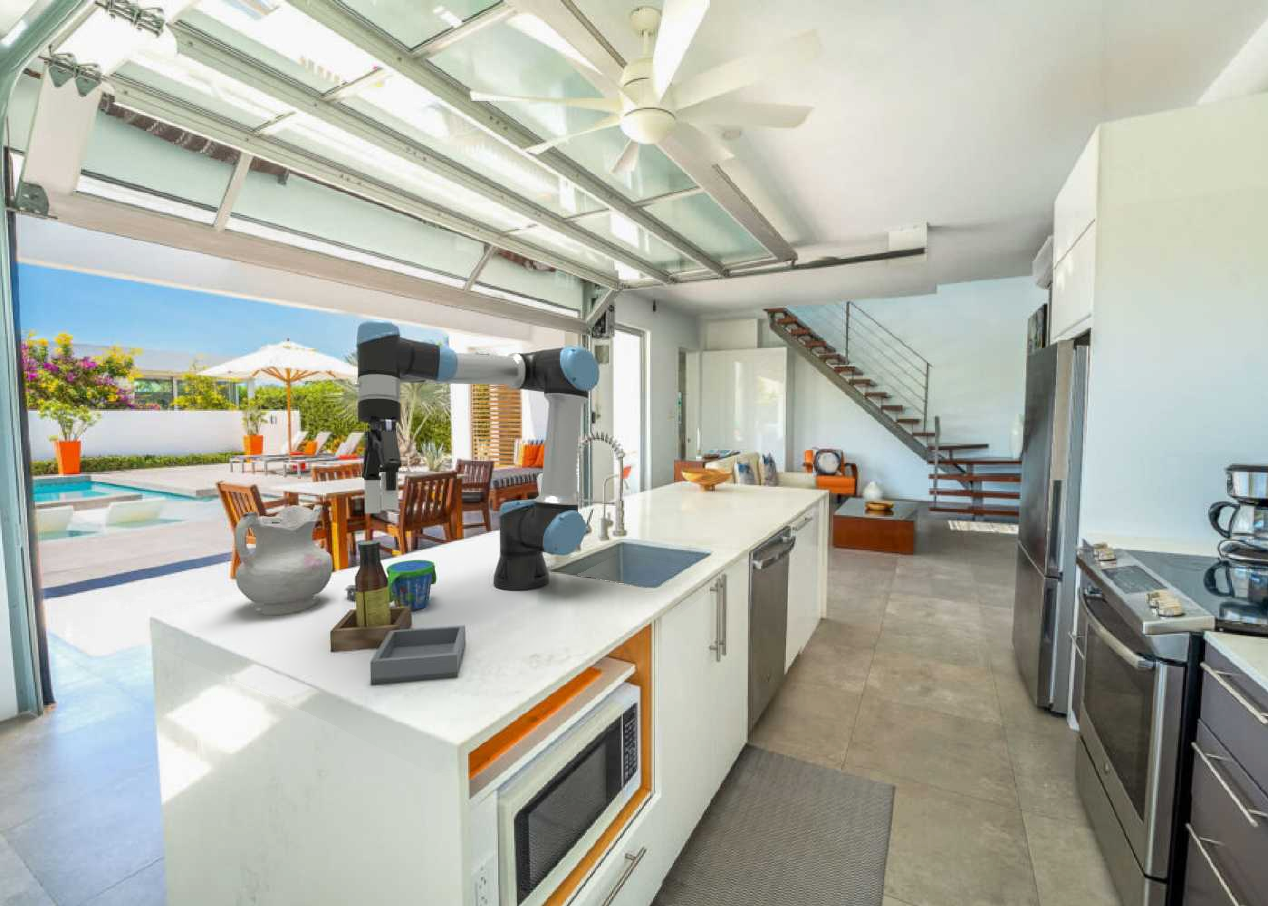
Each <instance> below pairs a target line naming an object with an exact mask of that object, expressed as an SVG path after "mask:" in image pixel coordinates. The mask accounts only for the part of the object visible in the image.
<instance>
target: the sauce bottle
mask: <svg viewBox="0 0 1268 906" xmlns="http://www.w3.org/2000/svg"><path fill="white" fill-rule="evenodd" d="M357 546H358V547H357V550H358V551H359V569H358V570H357V572H356V573H355V576H354V585H355V586H356V589H355V596H356V602H355V609H356V613H357V627H370V626H385V625H391V616H390V607H391V606H390V605H391V603H390V600H389V585H388V579H387V577H388V575H386V572H385V569H384V566H383V563H382V562H381V553H380V552H381V551H380V550H381V542H380V540H377V539H376V540H375V539H373V540H372V539H371V540H364V541H360V542H359V543H357Z"/></svg>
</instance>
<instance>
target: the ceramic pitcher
mask: <svg viewBox="0 0 1268 906" xmlns="http://www.w3.org/2000/svg"><path fill="white" fill-rule="evenodd" d="M323 507H324V505H322V504H316V503H314V507H313V509H311V508H308V507H307V506H300V505H297V504H296V505H295V504H293V505H290V506H286V507H283V508H282V509H281V510H279V512H278V513H277V514H276V515H275V516H264V515H261V516H259V514H258V511H257V510H251V511H250V510H249V511H246V512H244V514H241V516H242V517H241V518H240V519H239V521H238V523H237V524H236V527H235V529H234V532H233V533H234V538H233V539H234V545H235V548H236V552H237V554H238V557H239V559H240V561H241V563H239V565H238V566H237V568H236V570H235V583H236V585H237V588H238V590H239V591H240V592H241V593H242V594H243V595H244V596H245V597H246V598H247V599H249V600H250V601H251V602H253V603H255V604H261V606H259V607H260V608H259V610H258V611H257V612H258V614H259V615H265V616H267V615H268V616H274V617H275V616H280V615H286V614H294V613H295V614H296V613H300V612H301V611H304V610H306V609H308V608H311V607H312V606H314V605H317V604H319V602H320V601H319V600H320V599H319V598H315V595H318V594H319V593H321V592H322V591H324V589H325V588H326V587H327V585H328V584H329V581H330V580H331V578H332V574H333V567H334V566H333V565H334V564H333V557H332V555H331V554H330V553H329V552H328V551H325V550H324V549H322V548H321V547H320V546H318V545H316V544H315V543H314V540H313V533H314V529H315V527H316V524H317V521H318V518H319V516H320V514H321V513H322V512H323ZM249 528H250V529H251V532H253V535H254V537H255V541H256V544H255V549H254V550H253V552H252V553H251V551H250V549H249V548H248V546H247V545H248V544H247V532H248V530H249Z"/></svg>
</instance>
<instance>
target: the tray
mask: <svg viewBox="0 0 1268 906" xmlns="http://www.w3.org/2000/svg"><path fill="white" fill-rule="evenodd" d="M466 638H467V637H466V624H464V625H463V624H462V625H454V626H453V625H450V626H449V625H448V626H437V627H435V626H433V627H421V628H409V629H405V630H391V631H390V632H389V633H388V635H387V636H386V638H385V639H384V641H383V643H382V644H381V646H380V647H379V648H377V650H376V652H375V654H374V655H373V656H372V658H371V660H370V664H369V665H370V685H371V686H372V685H374V686H375V685H383V684H384V685H386V684H397V683H406V682H418V681H428V680H429V681H431V680H440V679H441V680H443V679H452V678H453V679H455V678H459V677H458V676H459V672H460V669H461V665H462V661H463V657H464V653H465V648H466V644H467V642H466V640H467V639H466Z"/></svg>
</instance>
